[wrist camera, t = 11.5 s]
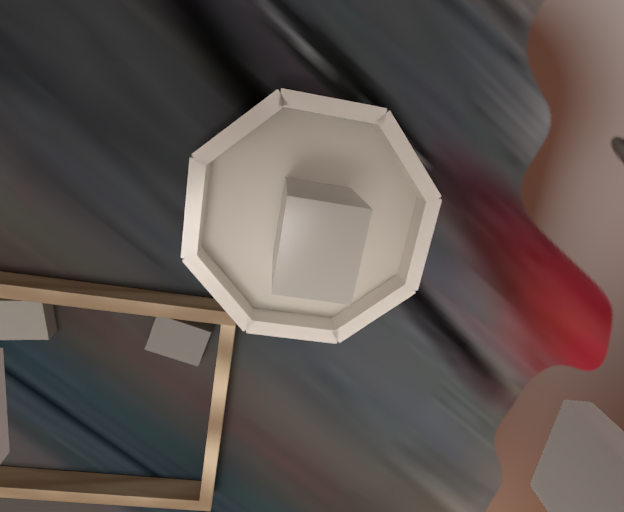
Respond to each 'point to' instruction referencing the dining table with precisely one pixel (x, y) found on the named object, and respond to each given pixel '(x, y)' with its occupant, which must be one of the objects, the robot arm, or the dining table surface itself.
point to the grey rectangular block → (179, 339)
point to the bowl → (267, 200)
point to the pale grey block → (319, 241)
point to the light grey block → (26, 320)
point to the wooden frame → (111, 485)
